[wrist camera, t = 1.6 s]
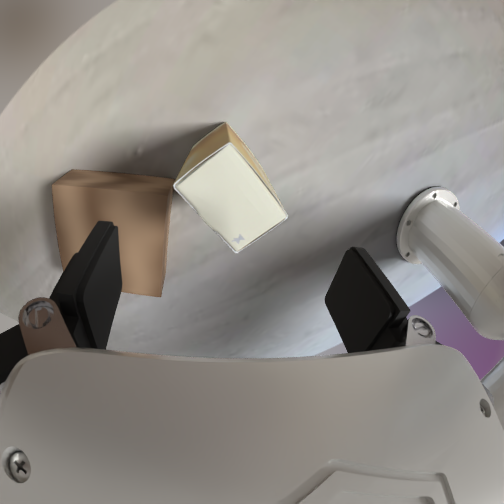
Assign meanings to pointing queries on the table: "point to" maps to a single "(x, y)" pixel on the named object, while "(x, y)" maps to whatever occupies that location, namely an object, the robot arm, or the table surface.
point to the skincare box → (229, 189)
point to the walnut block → (118, 221)
